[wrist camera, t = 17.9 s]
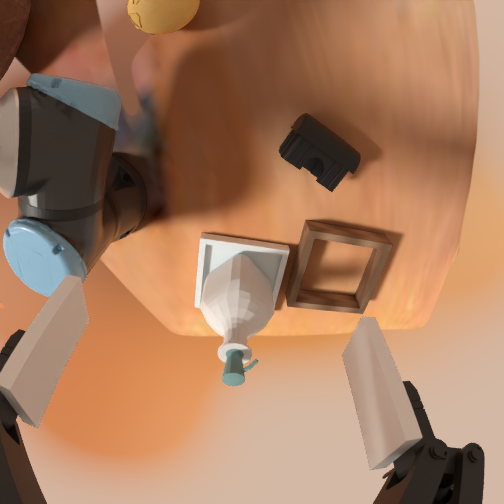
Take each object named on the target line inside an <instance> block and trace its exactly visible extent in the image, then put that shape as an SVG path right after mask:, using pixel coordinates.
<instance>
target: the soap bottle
mask: <svg viewBox="0 0 504 504" xmlns="http://www.w3.org/2000/svg"><path fill="white" fill-rule="evenodd" d="M200 309H201V311H202V313H203V315H204V317H205V319H206V321H207V323H208V324H209V326H210V327H212V328H213V329H214V330H215V331H216V332H217V333H218V334H219V335H221V336H223V337H224V343H223V344H222V345H221V346H220V347H219V349H218V357H219V358H220V359H221V361H223V362H225V363H226V364H225V368H224V373H223V377H222V381H223V382H224V383H225V384H227V385H230V386H238V385H241V384H242V383H244V381H245V377H244V372H246V371H248V370H250V369H251V368H252V367H253V366H254V365H255V364H257V363H258V360H256V359H255V360H254V361H253V362H252V363H251V364H250V365H249V366H247V367H245V368H243V364H244V363H246V362H248V361H249V360H250V359H251V356H252V352H251V349H250V347H249V346H248V345H247V338H249V337H252V336H253V335H255V334H256V333H258V332H259V331H261V330H262V329H263V328H264V327H265V326H266V324H267V323H268V321H269V320H270V319H271V317H272V316H273V314H274V304H273V293H272V285H271V282H270V279H269V278H268V277H267V276H266V275H265V274H264V273H263V272H262V271H261V270H260V269H259V268H258V266H257V265H256V264H255V263H254V262H253V261H252V260H251V259H250V258H249V257H248V256H245V255H243V254H238V255H234V256H232V257H231V258H230V259H228V260H227V261H226V262H224V263H223V264H221V265H220V266H219V267H217V268H216V269H215V270H213V271H212V272H210V273H209V274H208V276H207V278H206V280H205V283H204V288H203V293H202V298H201V302H200Z"/></svg>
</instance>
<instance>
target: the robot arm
mask: <svg viewBox="0 0 504 504" xmlns="http://www.w3.org/2000/svg"><path fill="white" fill-rule="evenodd" d="M26 85H27V87H17V88H10V89H9V90H8V91H7V92H6V93H5V94H4V95H3V96H2V98H0V192H1V193H2V194H3V195H4V196H5V197H6V198H13V197H18V218H17V219H15V220H13V221H12V222H11V223H10V224H9V227H8V228H7V230H6V231H5V234H4V238H3V246H4V251H5V255H6V258H7V260H8V262H9V264H10V266H11V268H12V269H13V271H14V272H15V274H16V275H17V276H18V277H19V278H20V279H21V280H22V281H23V282H24V283H25V284H26V285H27V286H28V287H30V288H31V289H32V290H34V291H36V292H37V293H40V294H42V295H44V296H48V297H50V298H49V299H48V301H47V302H46V303H45V305H44V306H43V308H42V309H41V310H40V312H39V313H38V315H37V316H36V318H35V319H34V320H33V322H32V323H31V325H30V326H29V328H28V329H27V331H23V330H20V329H19V330H18V331H17V332H15V333H14V334H13V335H11V336H10V338H9V340H8V341H7V343H6V344H5V347H3V349H2V350H1V353H0V504H47V502H46V500H45V498H44V496H43V494H42V491H41V489H40V487H39V484H38V482H37V479H36V477H35V474H34V472H33V469H32V467H31V464H30V461H29V458H28V455H27V453H26V450H25V446H24V443H23V440H22V437H21V434H20V430H19V427H18V424H17V422H16V418H17V416H18V415H19V417H20V418H21V419H22V421H23V422H25V423H27V424H29V425H31V426H34V427H36V428H38V427H39V425H40V423H41V420H42V418H43V415H44V413H45V410H46V408H47V406H48V404H49V401H50V399H51V397H52V395H53V392H54V390H55V388H56V386H57V384H58V382H59V379H60V377H61V375H62V373H63V371H64V369H65V367H66V365H67V363H68V361H69V359H70V357H71V355H72V353H73V351H74V349H75V347H76V345H77V343H78V341H79V339H80V337H81V336H82V334H83V332H84V330H85V328H86V326H87V324H88V323H89V317H88V313H87V308H86V304H85V298H84V293H83V288H82V283H83V282H84V281H85V279H86V277H87V275H88V273H89V272H90V271H91V269H92V268H93V266H94V265H95V264H96V262H97V261H98V260H99V258H100V257H101V256H102V254H103V253H104V252H105V250H106V249H107V248H108V246H109V245H110V243H112V242H115V241H117V240H120V239H122V238H124V237H126V236H128V235H129V234H130V233H131V232H133V231H134V229H135V228H136V227H137V226H138V224H139V223H140V222H141V220H142V218H143V216H144V213H145V210H146V204H147V196H146V190H145V186H144V183H143V181H142V179H141V177H140V175H139V174H138V172H137V171H136V170H135V169H134V168H133V167H132V166H131V165H130V164H129V163H128V162H126V161H125V160H123V159H121V158H119V157H116V156H113V155H112V151H113V146H114V141H115V136H116V131H118V130H119V126H118V120H119V115H120V109H121V97H120V95H119V93H118V92H117V91H116V90H114V89H112V88H109V87H105V86H102V85H98V84H93V83H89V82H85V81H80V80H75V79H70V78H64V77H59V76H53V75H45V74H38V73H33V74H31V75H30V77H29V79H28V80H27V82H26ZM342 358H343V361H344V365H345V369H346V372H347V376H348V380H349V384H350V388H351V391H352V395H353V399H354V403H355V407H356V411H357V415H358V419H359V423H360V428H361V432H362V436H363V440H364V445H365V449H366V453H367V458H368V463H369V468H370V470H374V469H380V468H385V467H387V466H388V465H390V464H391V463H392V462H393V463H394V468H393V469H392V470H390V471H389V472H387V473H386V474H385V475H384V476H383V479H384V478H386V477H387V476H388V478H387V480H386V482H385V484H384V485H383V487H382V489H381V491H380V493H379V494H378V496H377V498H376V499H375V501H374V503H373V504H482V499H483V486H484V452H483V450H482V448H481V447H480V446H479V445H478V444H476V443H469V444H468V445H466V446H465V447H464V448H462V449H460V448H450V447H447V445H446V444H445V443H444V442H443V441H442V440H439V439H436V438H435V436H434V434H433V431H432V428H431V425H430V423H429V420H428V417H427V414H426V412H425V409H423V407H424V406H423V404H422V402H421V401H420V396H419V394H418V392H417V389H416V388H415V387H414V386H413V384H412V383H411V382H410V381H402V380H401V377H400V374H399V372H398V369H397V367H396V365H395V362H394V359H393V357H392V355H391V352H390V350H389V347H388V345H387V343H386V340H385V338H384V336H383V334H382V331H381V329H380V327H379V324H378V322H377V320H376V318H375V317H361V319H360V321H359V323H358V325H357V327H356V329H355V331H354V333H353V335H352V337H351V339H350V341H349V343H348V345H347V347H346V349H345V350H344V352H343V354H342ZM453 485H454V486H453Z"/></svg>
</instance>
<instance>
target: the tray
mask: <svg viewBox="0 0 504 504" xmlns="http://www.w3.org/2000/svg"><path fill="white" fill-rule="evenodd" d="M238 254H243V255H245V256H248V257H249V258H250V259H251V260H252V261H253V262H254V263H255V264H256V265H257V266H258V268H259V269H260V270H261V271H262V272H263V273H264V274H265V275H266V276H267V277H268V278H269V279H270V282H271V285H272V293H273V304H274V307H275V304H276V300H277V297H278V293H279V289H280V285H281V282H282V278H283V274H284V271H285V267H286V263H287V259H288V255H289V246H288V245H282V244H276V243H269V242H262V241H255V240H249V239H242V238H235V237H228V236H221V235H214V234H207V233H202V234H201V238H200V247H199V258H198V269H197V282H196V295H195V307H196V308H200V302H201V298H202V293H203V288H204V283H205V280H206V278H207V276H208V274H209V273H210V272H212V271H213V270H215V269H216V268H217V267H219V266H220V265H221V264H223V263H224V262H226V261H227V260H228V259H230V258H231V257H232V256H234V255H238Z"/></svg>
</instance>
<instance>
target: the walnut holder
mask: <svg viewBox="0 0 504 504" xmlns="http://www.w3.org/2000/svg"><path fill="white" fill-rule="evenodd" d="M315 238H316V239H322V240H328V241H334V242H340V243H346V244H352V245H358V246H364V247H370V248H374V249H373V251H372V254H371V257H370V259H369V262H368V264H367V267H366V269H365V272H364V274H363V277H362V279H361V282H360V284H359V286H358V289H357V291H356V294H355V296H350V295H341V294H332V293H323V292H315V291H306V290H299V289H300V286H301V283H302V280H303V276H304V273H305V270H306V266H307V263H308V260H309V256H310V253H311V250H312V246H313V243H314V239H315ZM392 246H393V245H392V243H391V242H390V241H389V240H388V238H387V237H386V236H385V235H384V234H379V233H374V232H369V231H363V230H358V229H353V228H347V227H342V226H336V225H331V224H325V223H320V222H314V221H308V220H305V224H304V227H303V231H302V235H301V239H300V242H299V246H298V250H297V254H296V257H295V261H294V264H293V268H292V272H291V275H290V279H289V282H288V286H287V289H286V293H285V294H286V300H287V306H288V307H297V308H306V309H316V310H326V311H337V312H348V313H360V314H363V313H364V311H365V309H366V306H367V304H368V302H369V300H370V298H371V296H372V293H373V291H374V289H375V287H376V284H377V282H378V280H379V278H380V275H381V273H382V271H383V268H384V266H385V263H386V261H387V259H388V256H389V254H390V251H391V249H392Z"/></svg>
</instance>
